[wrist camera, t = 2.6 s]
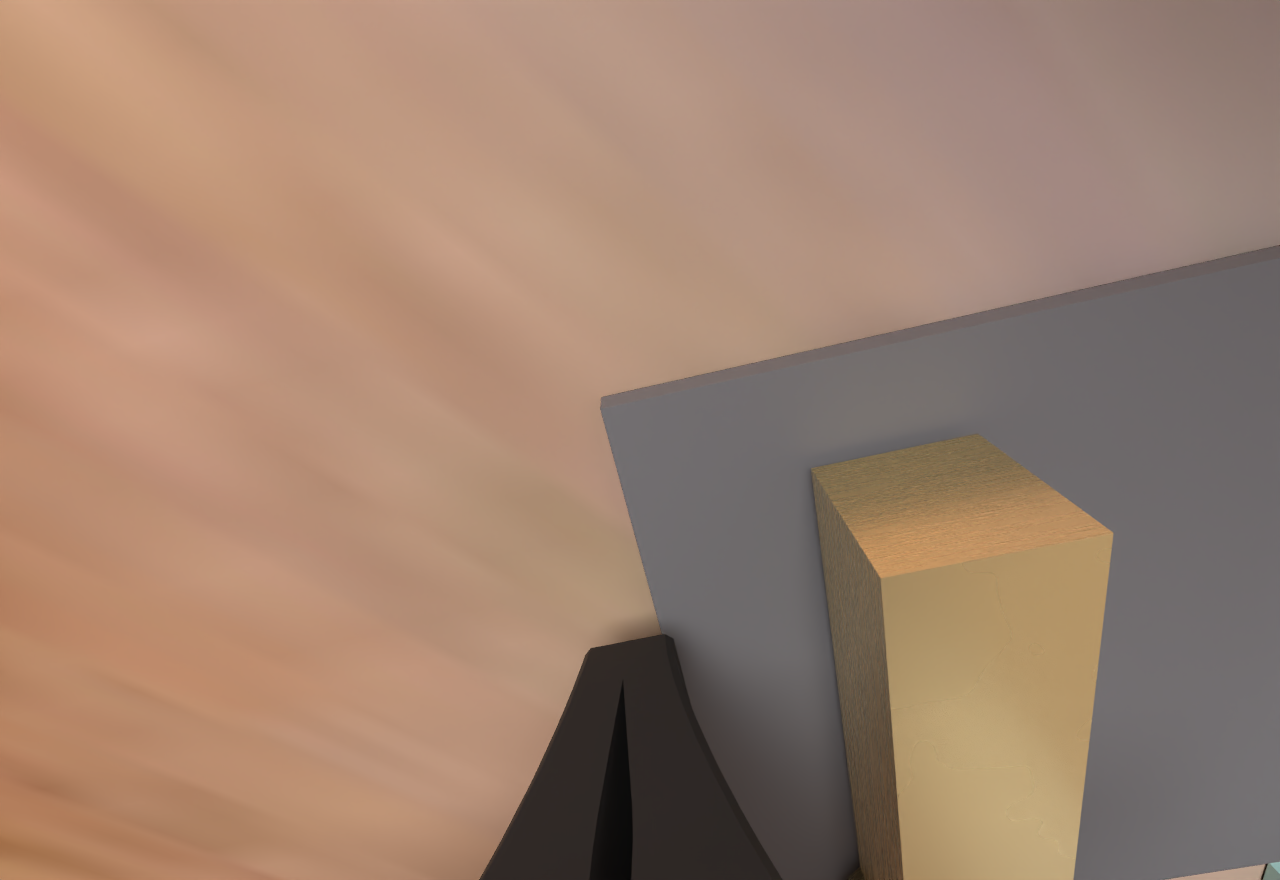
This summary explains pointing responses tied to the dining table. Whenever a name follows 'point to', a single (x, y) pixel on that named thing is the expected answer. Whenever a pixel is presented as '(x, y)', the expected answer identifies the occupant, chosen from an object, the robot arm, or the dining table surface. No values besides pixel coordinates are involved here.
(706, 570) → the plate
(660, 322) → the dining table surface
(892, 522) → the swing latch
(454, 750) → the dining table surface
